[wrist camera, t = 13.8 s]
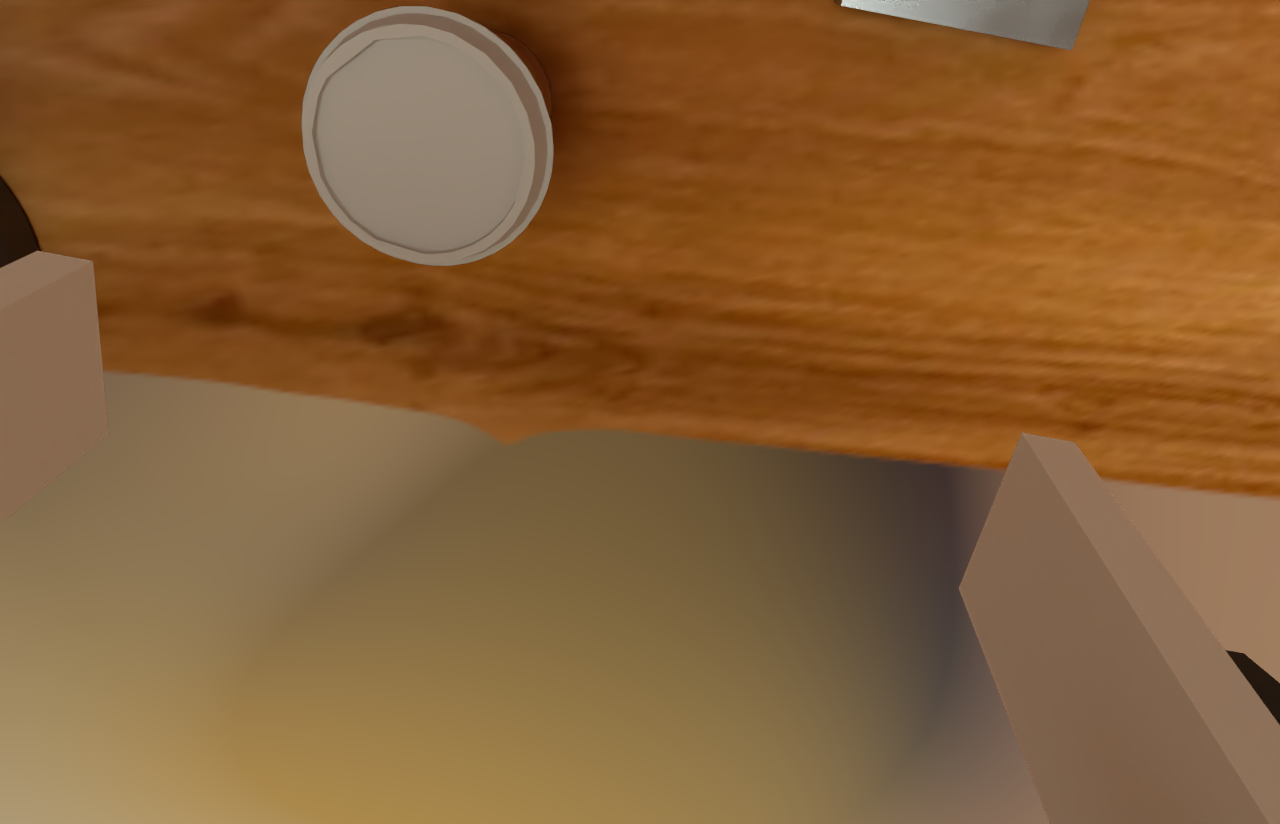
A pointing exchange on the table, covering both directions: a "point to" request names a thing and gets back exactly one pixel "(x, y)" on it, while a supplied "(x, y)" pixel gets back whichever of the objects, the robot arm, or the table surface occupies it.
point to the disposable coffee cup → (429, 134)
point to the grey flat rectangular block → (992, 16)
